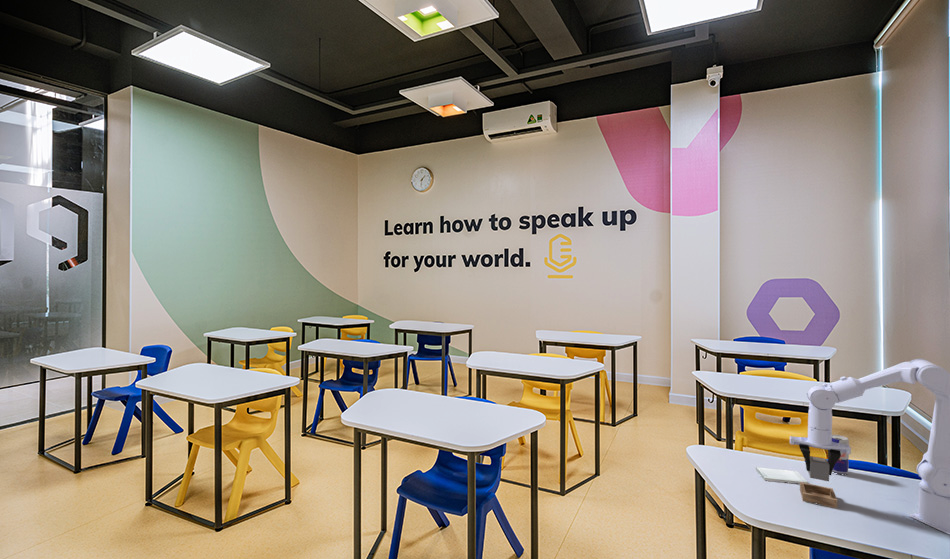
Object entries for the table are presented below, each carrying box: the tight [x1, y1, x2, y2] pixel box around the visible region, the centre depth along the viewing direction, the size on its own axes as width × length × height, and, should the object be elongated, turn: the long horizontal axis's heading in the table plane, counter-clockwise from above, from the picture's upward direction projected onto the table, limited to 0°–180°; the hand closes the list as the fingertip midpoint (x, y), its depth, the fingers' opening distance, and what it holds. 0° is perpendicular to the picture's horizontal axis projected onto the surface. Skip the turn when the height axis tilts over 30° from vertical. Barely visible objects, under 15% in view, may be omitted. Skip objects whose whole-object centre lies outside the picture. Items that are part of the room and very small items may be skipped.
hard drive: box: [755, 466, 809, 485], centre depth 151 cm, size 2×8×12 cm
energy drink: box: [832, 434, 850, 476], centre depth 155 cm, size 5×5×12 cm
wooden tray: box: [799, 482, 838, 509], centre depth 137 cm, size 8×8×2 cm
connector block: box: [807, 455, 830, 482], centre depth 137 cm, size 4×4×6 cm
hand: (818, 471), depth 137 cm, fingers closed on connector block, 4 cm apart
